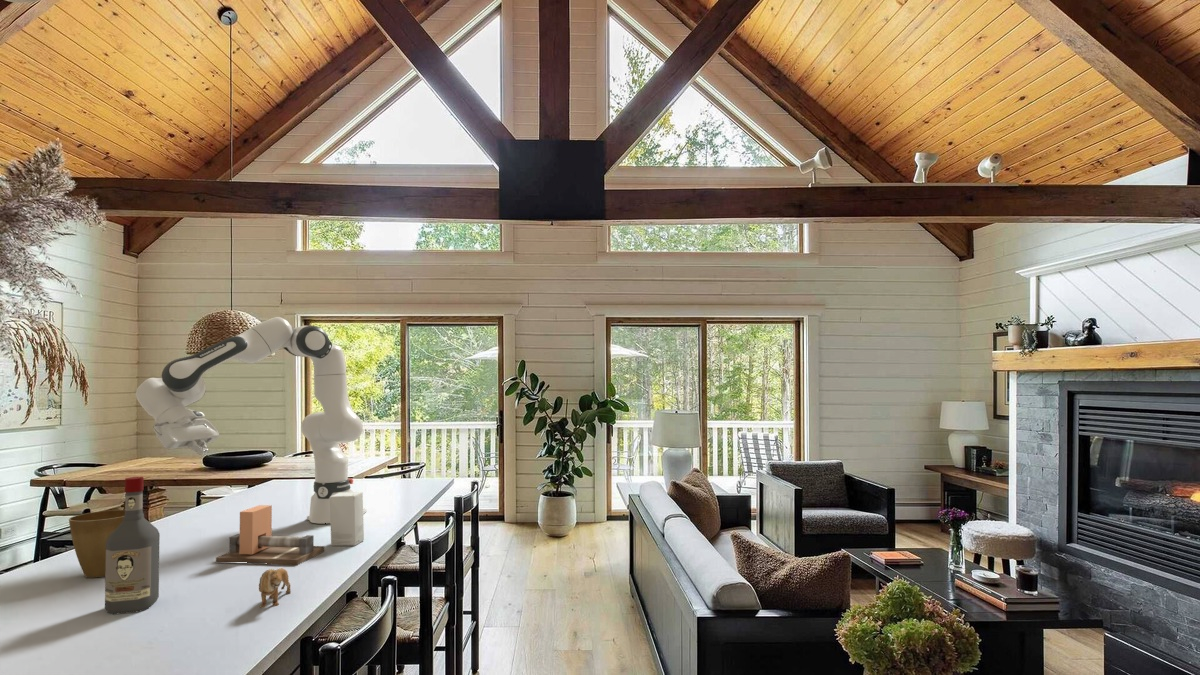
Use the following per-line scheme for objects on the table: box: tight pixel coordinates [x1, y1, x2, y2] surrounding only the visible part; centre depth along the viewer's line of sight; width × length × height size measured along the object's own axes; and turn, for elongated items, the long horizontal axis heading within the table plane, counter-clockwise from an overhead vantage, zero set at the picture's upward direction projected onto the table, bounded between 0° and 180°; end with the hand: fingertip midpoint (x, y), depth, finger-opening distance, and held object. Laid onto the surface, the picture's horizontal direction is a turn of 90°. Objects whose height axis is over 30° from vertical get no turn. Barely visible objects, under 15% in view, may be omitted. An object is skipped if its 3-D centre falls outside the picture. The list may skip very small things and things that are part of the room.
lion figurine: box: [258, 568, 292, 608], centre depth 160 cm, size 15×5×9 cm, turn 14°
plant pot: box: [68, 509, 125, 579], centre depth 182 cm, size 15×15×16 cm
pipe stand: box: [215, 533, 325, 566], centre depth 196 cm, size 14×25×6 cm, turn 83°
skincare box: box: [329, 491, 365, 547], centre depth 210 cm, size 8×7×16 cm
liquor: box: [104, 476, 161, 615], centre depth 157 cm, size 9×9×30 cm
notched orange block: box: [239, 504, 273, 554], centre depth 197 cm, size 9×4×12 cm, turn 173°
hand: (204, 453), depth 207 cm, fingers closed
